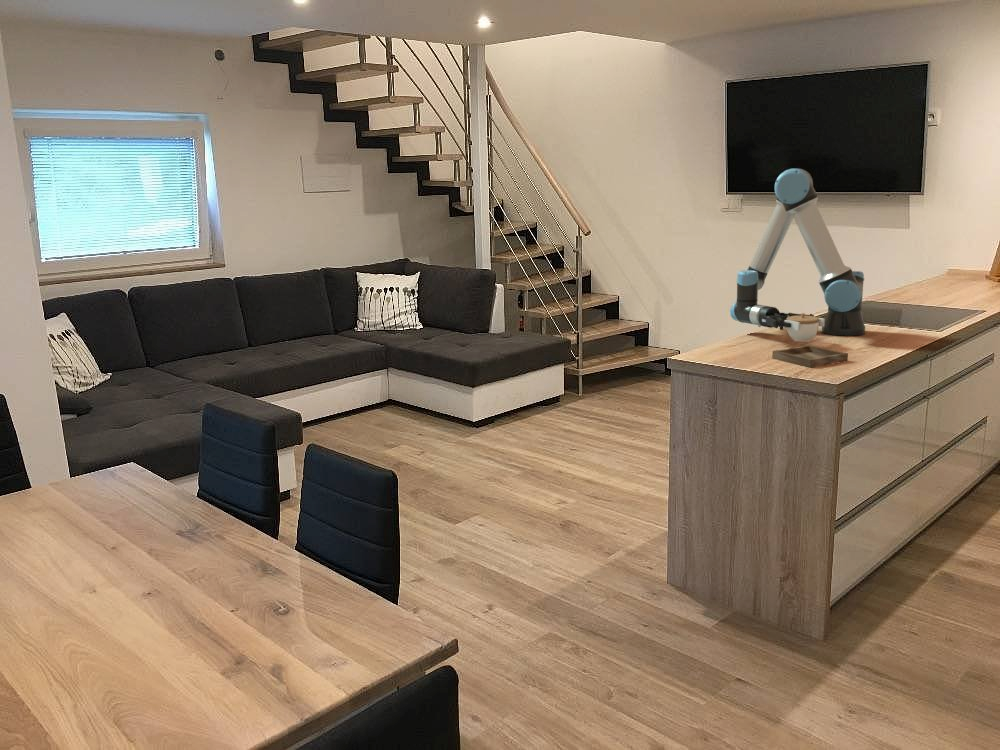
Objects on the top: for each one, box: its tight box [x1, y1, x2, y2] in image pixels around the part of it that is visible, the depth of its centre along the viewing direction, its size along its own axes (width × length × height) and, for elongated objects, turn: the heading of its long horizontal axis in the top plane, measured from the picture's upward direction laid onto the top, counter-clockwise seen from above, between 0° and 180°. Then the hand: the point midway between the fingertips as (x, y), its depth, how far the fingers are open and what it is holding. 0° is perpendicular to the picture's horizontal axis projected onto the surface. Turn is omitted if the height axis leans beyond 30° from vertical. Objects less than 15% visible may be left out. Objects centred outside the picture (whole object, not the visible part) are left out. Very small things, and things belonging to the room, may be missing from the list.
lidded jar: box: [786, 312, 820, 343], centre depth 303 cm, size 11×11×9 cm
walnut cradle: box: [772, 344, 849, 368], centre depth 285 cm, size 16×16×2 cm
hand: (811, 324), depth 299 cm, fingers closed on lidded jar, 11 cm apart
